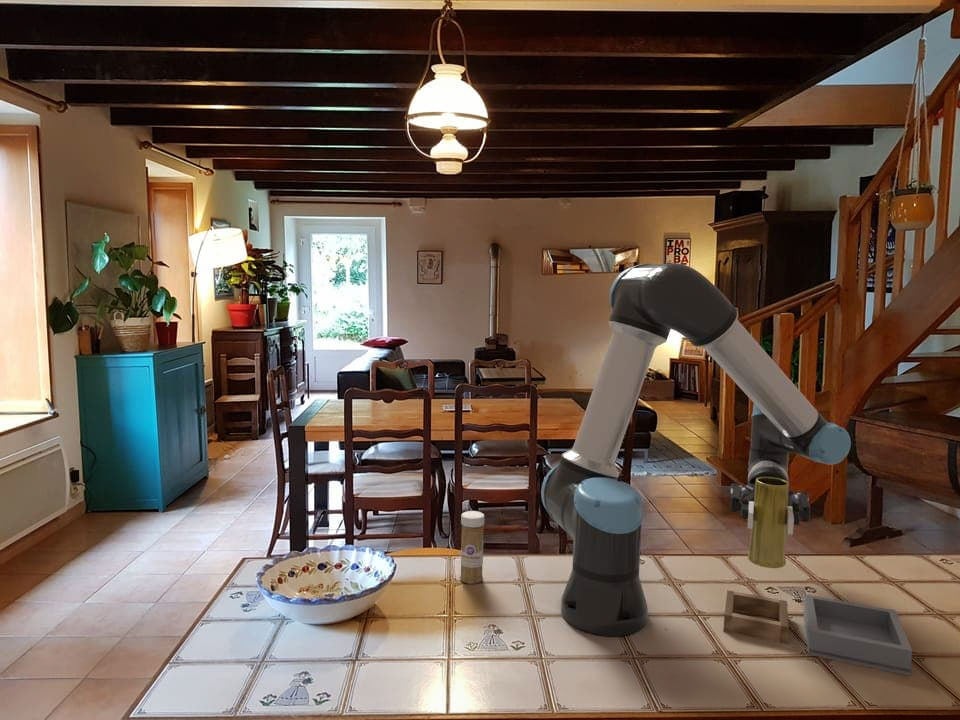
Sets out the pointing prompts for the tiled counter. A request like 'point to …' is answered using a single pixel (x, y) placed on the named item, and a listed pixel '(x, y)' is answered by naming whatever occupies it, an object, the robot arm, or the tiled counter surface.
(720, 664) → the tiled counter surface
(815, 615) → the tray
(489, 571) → the tiled counter surface
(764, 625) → the socket
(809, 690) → the tiled counter surface
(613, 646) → the tiled counter surface
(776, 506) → the vase
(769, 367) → the robot arm
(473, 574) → the sprinkles bottle
